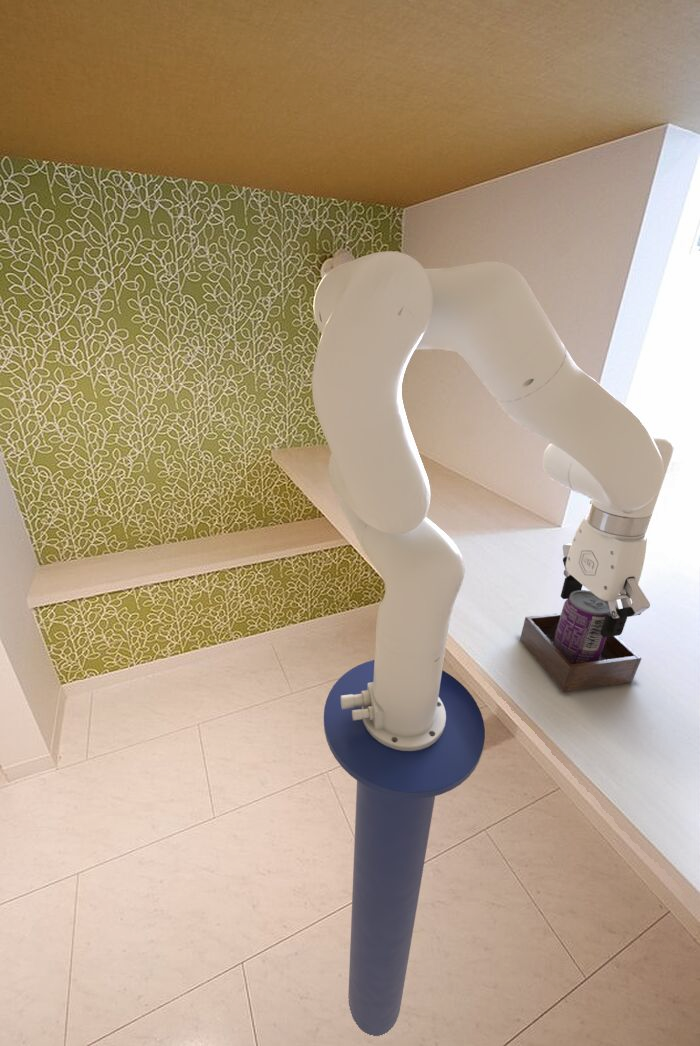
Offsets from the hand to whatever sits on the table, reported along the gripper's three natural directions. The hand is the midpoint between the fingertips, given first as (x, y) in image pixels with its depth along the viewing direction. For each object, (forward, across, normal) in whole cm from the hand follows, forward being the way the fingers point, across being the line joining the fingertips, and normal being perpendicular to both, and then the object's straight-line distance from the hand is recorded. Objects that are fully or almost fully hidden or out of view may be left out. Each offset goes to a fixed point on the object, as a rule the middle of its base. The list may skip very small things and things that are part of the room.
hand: (588, 615), depth 70 cm
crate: (+9, 0, -1) cm, 9 cm away
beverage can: (+9, 0, -1) cm, 9 cm away
